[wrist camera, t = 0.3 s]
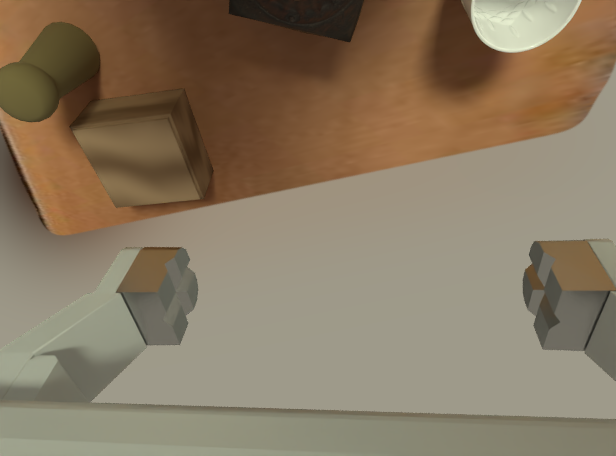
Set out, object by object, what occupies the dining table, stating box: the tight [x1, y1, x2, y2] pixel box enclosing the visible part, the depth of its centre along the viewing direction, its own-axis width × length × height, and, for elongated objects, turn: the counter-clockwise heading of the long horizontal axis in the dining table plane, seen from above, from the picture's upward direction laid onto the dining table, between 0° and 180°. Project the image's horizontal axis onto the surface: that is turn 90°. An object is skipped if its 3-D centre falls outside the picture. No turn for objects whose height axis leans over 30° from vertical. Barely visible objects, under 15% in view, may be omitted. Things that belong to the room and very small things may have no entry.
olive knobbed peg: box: [0, 22, 100, 122], centre depth 44 cm, size 6×6×11 cm
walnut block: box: [70, 89, 213, 208], centre depth 52 cm, size 11×11×6 cm
